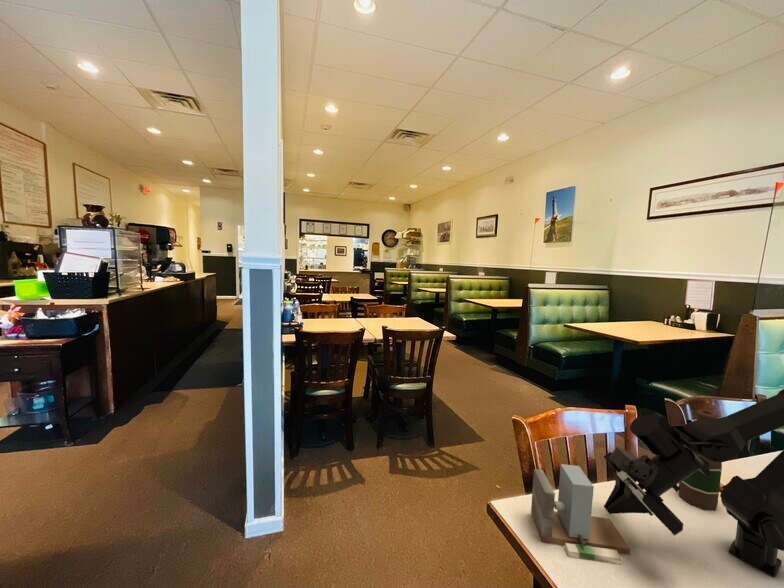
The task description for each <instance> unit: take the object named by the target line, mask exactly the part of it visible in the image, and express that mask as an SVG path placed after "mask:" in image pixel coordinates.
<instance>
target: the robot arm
mask: <svg viewBox="0 0 784 588" xmlns="http://www.w3.org/2000/svg"><path fill="white" fill-rule="evenodd" d="M782 427H784V388H783V389H780V390H779V391H778V393H777V394H776V395H772V396H771V397H768V398H765V399H763V400H761V401H759V402H756V403H754V404H752V405H750V406H747V407H745V408H742V409H740V410H738V411H735V412H733V413H730V414H728V415H726V416H723V417H716V418H704V419H700V420H697V419H696V420H692V421H690V422H689V421H688V422H687V423H686V424H670V423H669V421H668V420H667V419H666V418H665V417H664V416H663V415H661V414H660V413H658V412H656V413H654V414H652V415H649V414H648V415H642V416H638V417H636V418H634V419H633V420H632V422H631V423H630V426H629V430H630V432H631V433H632V434H633V435H634V436H635V437H636V438H637V439H638V441H640V443H641V444H642V445H643V446H645V448H646V449H648V451H649V452H650V453H651V454H653V455H652V456H651V457H650V456H648V455H647V454H644V455H641V456H640V457H637V456H636V455H634V454H633V453H632V452H630V451H629V452H628V451H627V450H625V449H623V448H621V447H619V446H615V448H614V450H613V451H609V452H608V453H606V454H605V455H604V456H603V458H604V459H605V461H606V462H607V463H609V465H611V467H613V469H615V470H616V472H617V473H616V472H615V471H613V475H614V480H615V485H614V487H613V489H612V491H611V493H610V494H609V496H608V498H607V500H606V502H605V503H604V505H603V508H604V509H605V510H606V512H607V513H608V514H610V515H616V514H617V515H618V514H619V515H620V514H648V515H649V516H651V517H652V516H655V517H656V518H657V519H658V521H660V523H662V524H663V525H664V526H665V527H666V528H667V530H669V531H670V532H671V534H672V535H673V536H676V535H678V534H680V533H681V532H682V531H683V530H684V523H683V521H682V520H680V519H679V517H678V516H677V515H676V514H675V513H674V512H673V511H672V510H671V509H670V508H669V507H668V506H667V505H666V504H665V503H664V499H663V498H662V497H661V496H662V495H663V494H665V493H667V492H668V491H670V490H671V489H673V490H674V491H675V492H679V490H680V488H679V483H680V481H683V480H684V479H686V478H687V477H689V476H690V475H692V474H693V473H695V472H696V471H697V470H699V471H701V472H702V473H703V474H705V475H706V476H708V477H709V476H710V470H709V462H707V461H706V460H705V459H703V458H702V457H697V456H696V455H695V454H694V453H693V452H695V453H696V454H700V455H703V456H704V457H705V458H707V459H709V460H711V461H715V462H717V463H720V462H722V463H725V462H726V461H728V460H731V459H732V458H733V457H736V456H737V455H739V454H741V453H742V451H743V449H744V447H745V446H746V444H747V442H749V441H751V440H753V439H756V438H759V437H761V436H762V435H765V434H768V433H771V432H773V431H775V430H778V429H780V428H782ZM684 445H685V446H686V447H688V448H689V449H688V448H686V447H684ZM690 449H691V450H692V451H693V452H692V451H691V450H690ZM721 488H722V489H723V490H722V491H721V492H720V493H719V494H720V495H719V497H720V501H721V504H722V506H723V507H724V508H725V510H726V513H727V514H728V515H729V516H730V517H732V518H734V519H735V520H736V521H737V524H736V530H735V531H736V532H735V539H734V540H733V541H732V543H731V545H730V546H729V548H728V549H727V550H728V551H727V552H728V553H729V554H731V555H733V556H734V557H736V558H738V559H740V560H741V561H744V562H746V563H747V564H749V565H751V566H753V567H754V568H755V569H758V570H760V571H762V572H764V573H765V574H767V575H769V576H771V577H773V578H776V577H777V575H778V572H779V569H780V567H782V566H781V565H782V563H783V561H782V560H781V559H780V558H778V553H779V550H780V551H783V552H784V449H783V450H782V451H781V452H780V453H778V454H777V456H775V458H773V459H772V460H771V461H770V462H769V463H768V464H767V465H766V466H765V467H764V468H763V469H762V470H761V471H760V472H758V474H757V475H756V476H755V477H751V478H742V477H740V476H738V475H735V476H733V477H732V478H731V479H730V481H728V483H727V484H725V485H723V486H721Z"/></svg>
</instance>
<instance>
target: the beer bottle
mask: <svg viewBox="0 0 784 588" xmlns="http://www.w3.org/2000/svg"><path fill="white" fill-rule="evenodd" d="M696 416H697V417H696V420H700V419H704V418H717V416H716V414H715V413H713V412H712V411H709V410H704V409H700V410H699V409H698V410H697V411H696ZM683 447H686V446H685V445H684V444H683ZM686 448H688V447H686ZM688 449H689V448H688ZM690 450H691V449H690ZM691 451H692V450H691ZM692 452H693V451H692ZM693 453H694V454H695V455H696V456H697V457H702V458H703V459H705V460H706V461H707V462H709V470H710V476H709V477H708V476H706V475H705V474H703V473H702V472H701V471H699V470H697V471H696V472H695V473H693V474H692V475H690V476H689V477H687V478H686V479H684V480H683V481H680V483H678V487H679V488H680V490H679V491H678V496H679V498H681V499H682V500H683V501H685V502H686V503H688V504H689V505H690V506H693V507H696V508H699V509H701V510H704V511H716V510H717V508H718V502H719V497H720V495H719V494H720V488H721V487H720V486H721V480H722V479H721V477H722V470H723V469H722V468H723V466H722V465H723V462H720V463H717V462H715V461H711V460H709V459H707V458H705V457H704V456H703V455H700V454H696V453H695V452H693Z"/></svg>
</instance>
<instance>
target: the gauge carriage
mask: <svg viewBox="0 0 784 588" xmlns="http://www.w3.org/2000/svg"><path fill="white" fill-rule="evenodd" d="M593 499H594V485H593V483H592V482H591V481H590V479H589V478H588V477H587V475H586V474H585V472H584V471H583V470H582V468H581V467H580V466H579V465H573V464H565V463H563V464H562V463H561V464H560V467H559V484H558V498H557V501H556V500H554V510H556V512H558V515H559V517H560V519H561V521H562V523H563V525H564V527H565V529H566V531H567V533H568V535H569V537H575V538H579V540H580V541H581V543H582V545H583V546H585V542H584V540H583V539H589V537H590V525H591V516H592V511H593Z"/></svg>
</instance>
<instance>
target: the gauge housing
mask: <svg viewBox="0 0 784 588" xmlns="http://www.w3.org/2000/svg"><path fill="white" fill-rule="evenodd" d="M532 475H533V477H532V478H533V479H532V493H531V494H532V495H531V507H530V514H531V518H532V521H533V524H534V527H535V529H536V531H537V534H538V537H539V539H540V542H541V543H544V544H552V545H558V546H564V549H565V552H566V553H567V556H568V558H578V559H581V560H588V561H589V560H590V561H591V560H592V561H596V562H597V561H598V562H603V563H610V564H617V565H622V560H623V559H622V557H621V555H626V556H630V555H631V547H630V546H629V544H628V542H627V541H626V540H625V539H624V537H623V535H622V534H621V533H620V531H619V530H618V528H617V527H616V525H615V523H613V521H612V520H611V518H607V517H601V516H594V515H591V525H590V537H589V539H583V540H584V542H585V546H583V545H582V543H581V541H580V540H579V538H575V537H569V535H568V533H567V531H566V529H565V527H564V525H563V523H562V521H561V519H560V517H559V515H558V512H557V510H556V511H555V508H554V501H556V500H555V498H556V497H555V496H556V493H555V491H554V489H553V487H552V485H551V483H550V481H549V480H548V478H547V475H546V474H545V472H544V470H542V469H535V468H534V469H533V474H532Z"/></svg>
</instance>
